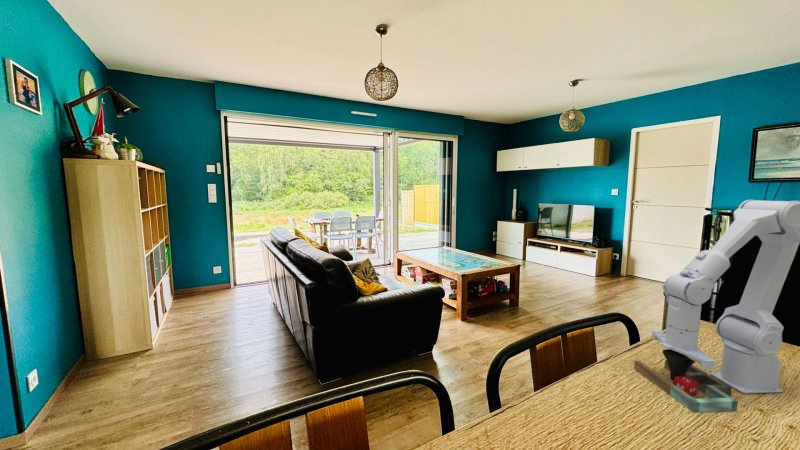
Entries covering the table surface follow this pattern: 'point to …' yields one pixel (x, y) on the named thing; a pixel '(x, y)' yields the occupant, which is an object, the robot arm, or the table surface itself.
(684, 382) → the red letter block
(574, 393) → the table surface
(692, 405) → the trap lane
